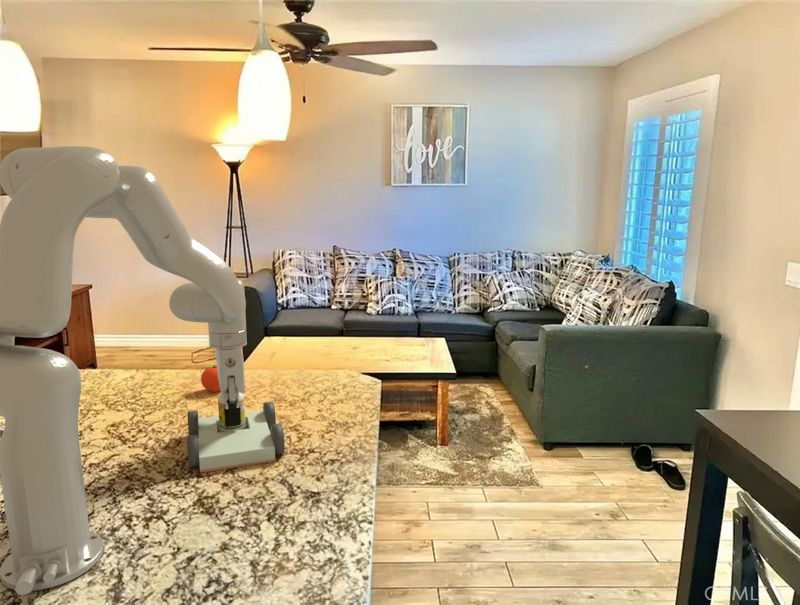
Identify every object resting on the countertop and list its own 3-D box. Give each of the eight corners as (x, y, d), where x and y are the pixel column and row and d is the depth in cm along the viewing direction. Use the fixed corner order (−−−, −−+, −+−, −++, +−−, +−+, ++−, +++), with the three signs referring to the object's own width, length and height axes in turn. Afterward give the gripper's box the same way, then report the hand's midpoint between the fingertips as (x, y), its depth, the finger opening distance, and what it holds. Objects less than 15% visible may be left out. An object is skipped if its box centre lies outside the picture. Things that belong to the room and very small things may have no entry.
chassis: (285, 459, 113) (284, 431, 111) (188, 474, 107) (186, 444, 105) (272, 421, 131) (271, 397, 130) (189, 432, 125) (187, 406, 124)
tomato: (192, 393, 149) (190, 367, 148) (208, 385, 155) (206, 360, 154) (219, 396, 147) (217, 370, 145) (234, 388, 153) (232, 362, 152)
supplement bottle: (245, 431, 120) (243, 388, 118) (219, 434, 119) (216, 390, 117) (244, 421, 125) (243, 380, 123) (219, 424, 124) (217, 382, 122)
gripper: (250, 346, 111) (254, 433, 115) (243, 327, 127) (246, 404, 131) (210, 350, 109) (215, 438, 112) (207, 330, 125) (212, 408, 128)
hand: (232, 419), depth 122 cm, fingers closed on supplement bottle, 5 cm apart
